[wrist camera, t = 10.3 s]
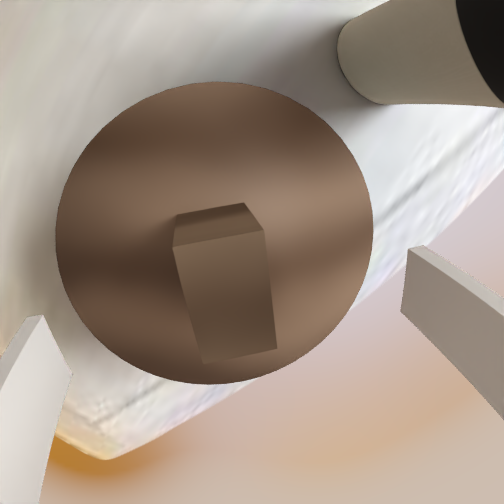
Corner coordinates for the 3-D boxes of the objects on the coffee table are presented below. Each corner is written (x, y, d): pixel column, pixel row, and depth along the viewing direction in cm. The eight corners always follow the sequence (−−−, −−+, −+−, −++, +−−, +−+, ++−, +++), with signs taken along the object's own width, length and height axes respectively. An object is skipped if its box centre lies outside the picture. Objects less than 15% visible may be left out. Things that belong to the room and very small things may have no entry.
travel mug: (385, 123, 23) (589, 159, 7) (316, 56, 20) (520, -13, 4) (427, 65, 22) (605, 65, 5) (367, 0, 19) (540, -65, 2)
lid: (34, 129, 12) (-27, 136, 7) (352, 76, 14) (416, 64, 9) (120, 386, 18) (110, 450, 13) (357, 338, 20) (395, 389, 15)
